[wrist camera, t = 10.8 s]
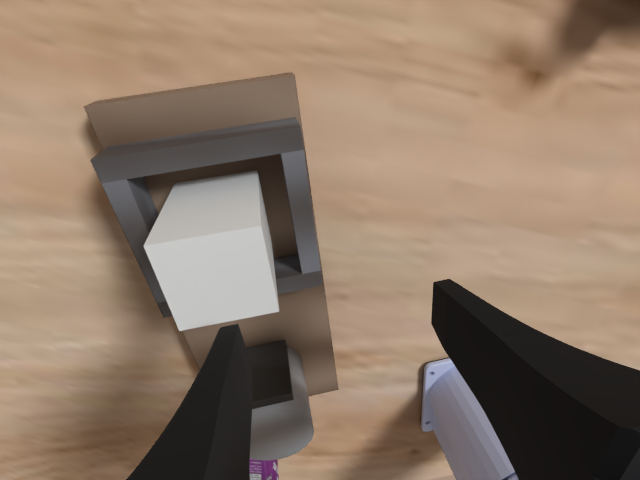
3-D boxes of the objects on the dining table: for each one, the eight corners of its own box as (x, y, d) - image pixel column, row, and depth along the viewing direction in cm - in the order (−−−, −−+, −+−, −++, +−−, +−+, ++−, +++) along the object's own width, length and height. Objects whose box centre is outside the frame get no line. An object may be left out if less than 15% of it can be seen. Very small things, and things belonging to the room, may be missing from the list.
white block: (272, 246, 20) (281, 320, 15) (200, 259, 19) (182, 340, 14) (257, 170, 17) (261, 225, 12) (174, 183, 17) (143, 245, 12)
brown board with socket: (334, 373, 28) (355, 455, 23) (221, 399, 27) (214, 491, 22) (291, 72, 17) (312, 90, 11) (96, 100, 16) (17, 135, 11)
